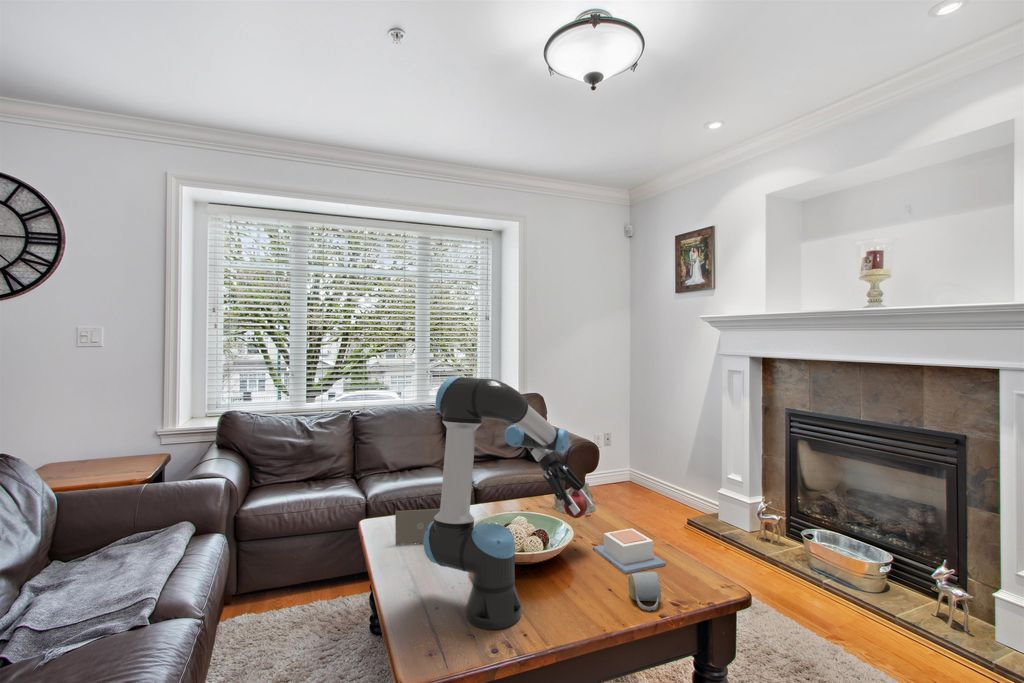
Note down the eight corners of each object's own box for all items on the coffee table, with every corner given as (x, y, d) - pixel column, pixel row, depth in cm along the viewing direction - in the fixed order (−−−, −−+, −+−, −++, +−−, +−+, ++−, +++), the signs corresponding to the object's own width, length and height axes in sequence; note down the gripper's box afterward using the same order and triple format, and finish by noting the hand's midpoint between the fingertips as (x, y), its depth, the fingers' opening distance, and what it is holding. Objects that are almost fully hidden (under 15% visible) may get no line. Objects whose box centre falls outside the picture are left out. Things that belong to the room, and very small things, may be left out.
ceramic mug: (627, 592, 149) (627, 567, 149) (654, 592, 149) (654, 566, 149) (635, 612, 139) (635, 585, 138) (665, 612, 138) (665, 585, 138)
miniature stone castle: (600, 510, 219) (598, 476, 219) (571, 519, 210) (568, 483, 211) (578, 502, 232) (575, 470, 232) (549, 510, 223) (547, 477, 224)
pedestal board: (665, 565, 166) (665, 543, 166) (625, 574, 160) (625, 551, 160) (630, 542, 185) (630, 522, 185) (592, 549, 179) (592, 529, 179)
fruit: (590, 517, 177) (591, 488, 177) (580, 523, 171) (580, 494, 171) (570, 512, 182) (570, 485, 182) (559, 519, 175) (560, 490, 175)
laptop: (444, 530, 198) (444, 497, 198) (445, 543, 185) (444, 508, 185) (398, 533, 195) (398, 500, 195) (395, 546, 183) (395, 511, 183)
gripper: (555, 457, 194) (591, 508, 184) (523, 468, 178) (561, 523, 168) (567, 446, 191) (604, 496, 181) (535, 455, 174) (574, 511, 164)
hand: (583, 509), depth 174 cm, fingers closed on fruit, 8 cm apart
